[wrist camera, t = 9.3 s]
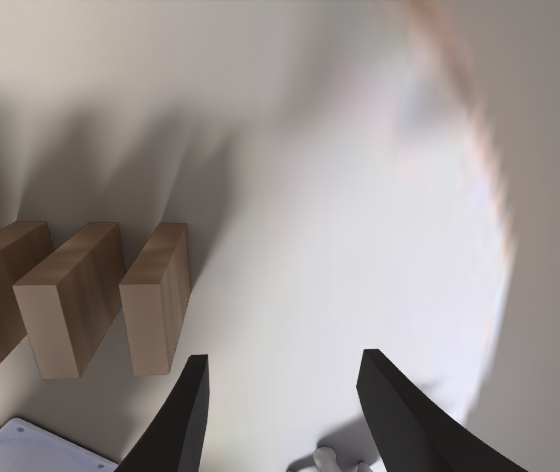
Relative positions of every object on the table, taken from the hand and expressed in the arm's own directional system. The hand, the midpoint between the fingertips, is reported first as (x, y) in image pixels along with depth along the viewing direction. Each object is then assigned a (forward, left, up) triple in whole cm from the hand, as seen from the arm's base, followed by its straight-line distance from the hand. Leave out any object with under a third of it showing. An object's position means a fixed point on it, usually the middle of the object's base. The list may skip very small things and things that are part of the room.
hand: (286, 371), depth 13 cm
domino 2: (+7, +7, -9) cm, 14 cm away
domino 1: (+4, +4, -9) cm, 11 cm away
